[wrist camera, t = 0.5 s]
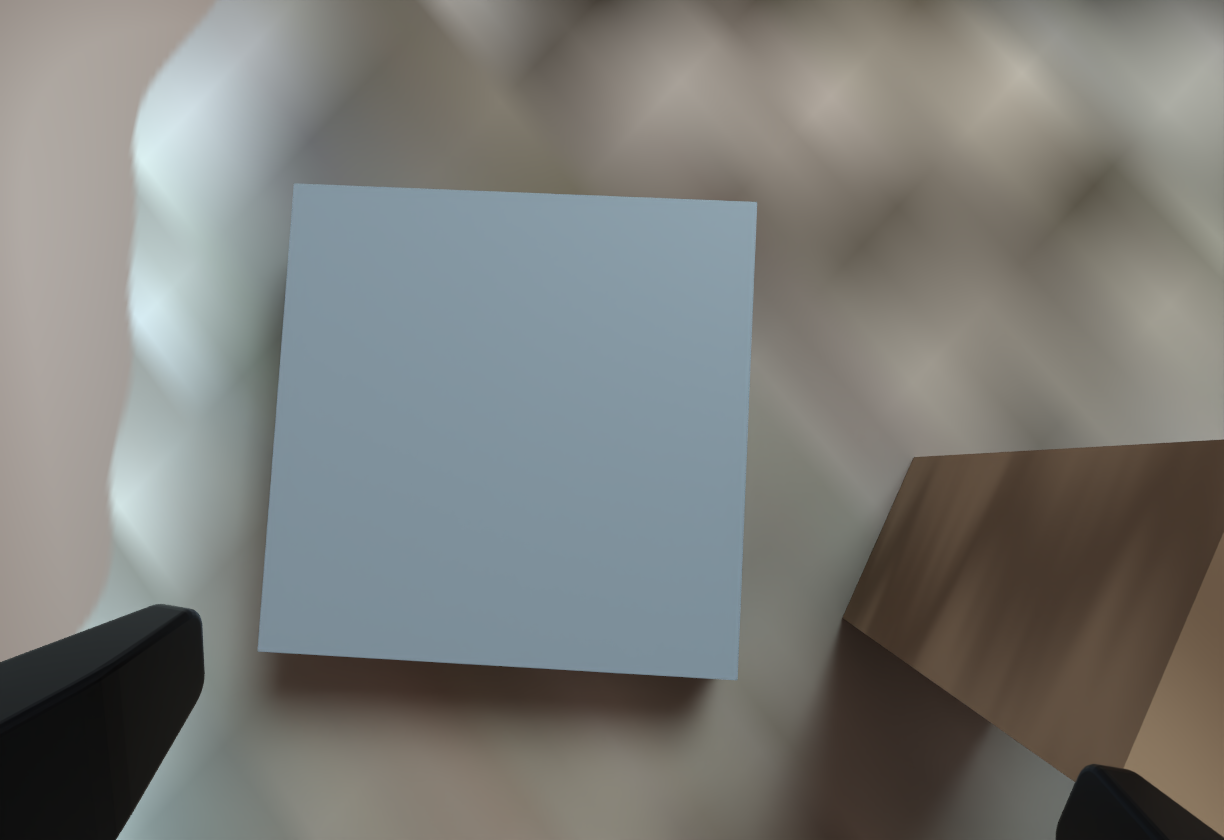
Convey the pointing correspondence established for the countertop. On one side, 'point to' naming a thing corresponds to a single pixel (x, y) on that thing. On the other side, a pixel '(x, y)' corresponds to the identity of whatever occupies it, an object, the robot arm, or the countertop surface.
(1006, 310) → the countertop surface
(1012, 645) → the walnut block
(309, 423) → the plinth
